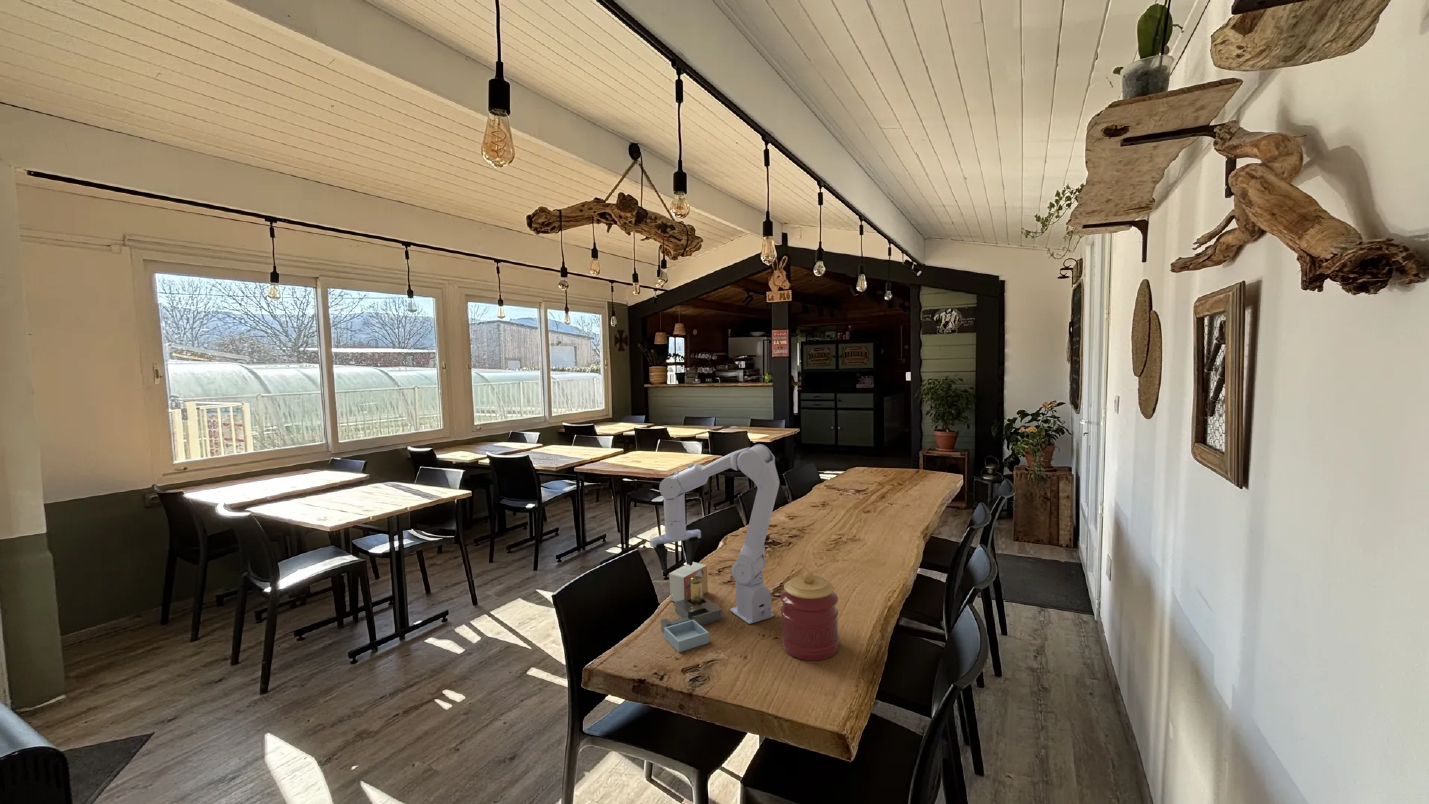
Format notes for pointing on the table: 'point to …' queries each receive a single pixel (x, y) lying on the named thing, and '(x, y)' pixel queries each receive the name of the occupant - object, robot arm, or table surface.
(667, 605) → the table surface
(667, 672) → the table surface
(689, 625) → the tray
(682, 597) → the small box
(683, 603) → the socket block
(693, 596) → the gold metallic cylinder
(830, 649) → the canister
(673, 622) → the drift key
